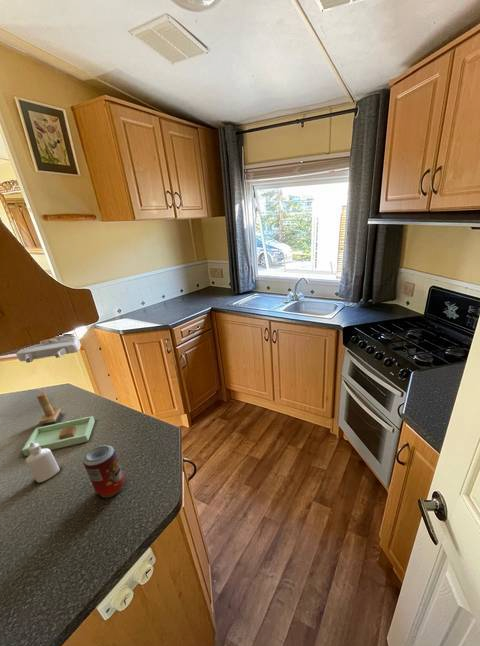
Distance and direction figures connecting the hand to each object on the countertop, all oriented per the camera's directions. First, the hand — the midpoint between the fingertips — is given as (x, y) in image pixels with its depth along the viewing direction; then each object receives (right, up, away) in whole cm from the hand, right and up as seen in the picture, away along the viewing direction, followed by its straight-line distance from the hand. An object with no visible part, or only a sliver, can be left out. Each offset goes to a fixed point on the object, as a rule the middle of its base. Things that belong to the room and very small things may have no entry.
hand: (42, 358), depth 107 cm
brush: (+5, -23, -1) cm, 24 cm away
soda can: (+42, -35, -30) cm, 63 cm away
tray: (+14, -27, -10) cm, 32 cm away
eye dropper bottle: (+21, -34, -25) cm, 47 cm away
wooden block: (+16, -26, -10) cm, 32 cm away
